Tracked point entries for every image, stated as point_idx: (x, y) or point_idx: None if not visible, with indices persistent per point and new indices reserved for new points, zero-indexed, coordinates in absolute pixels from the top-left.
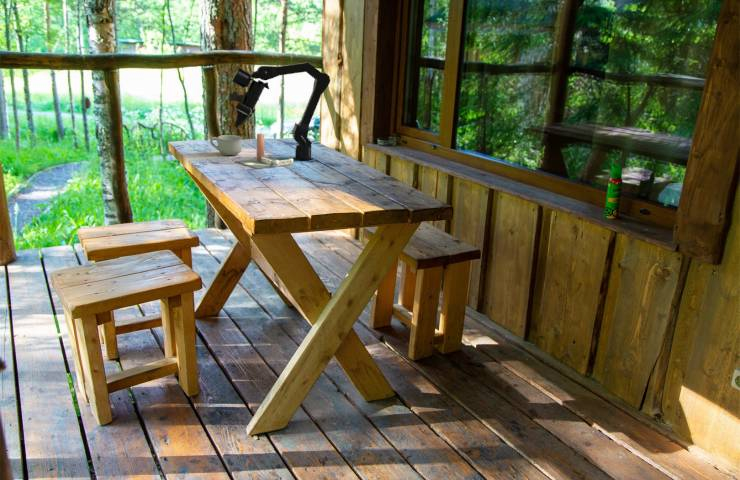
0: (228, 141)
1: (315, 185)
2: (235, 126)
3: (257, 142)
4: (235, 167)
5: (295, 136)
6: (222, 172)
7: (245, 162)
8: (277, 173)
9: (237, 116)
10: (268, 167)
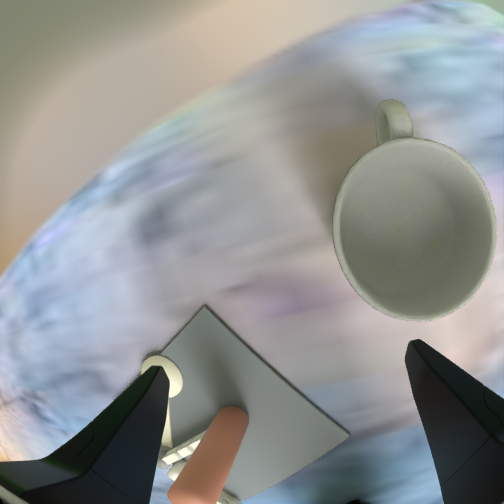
0: (334, 240)
1: None
2: (154, 370)
3: (190, 459)
4: (107, 327)
5: None
6: (42, 295)
7: (188, 359)
8: None
9: (69, 444)
10: None
